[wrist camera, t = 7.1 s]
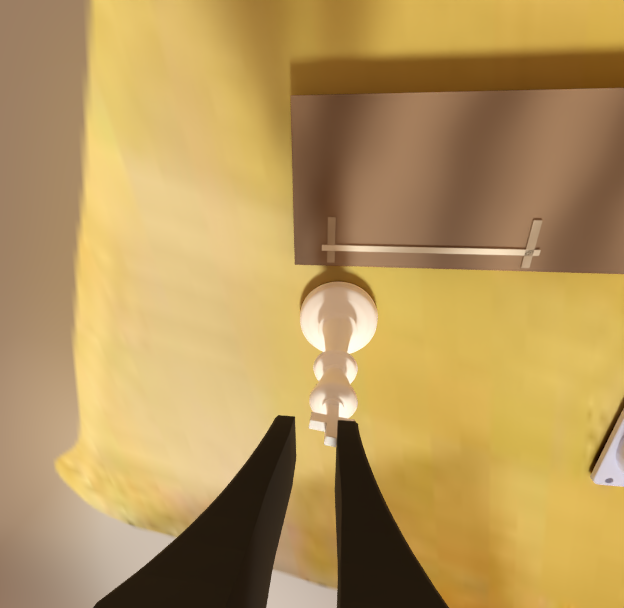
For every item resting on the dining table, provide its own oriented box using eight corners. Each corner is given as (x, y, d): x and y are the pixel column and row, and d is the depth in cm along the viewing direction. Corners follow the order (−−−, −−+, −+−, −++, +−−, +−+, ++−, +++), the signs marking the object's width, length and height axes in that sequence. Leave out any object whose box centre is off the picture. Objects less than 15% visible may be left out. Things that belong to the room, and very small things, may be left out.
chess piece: (305, 274, 20) (269, 374, 11) (385, 288, 20) (418, 401, 11) (295, 342, 22) (258, 474, 13) (368, 356, 22) (382, 498, 13)
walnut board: (697, 92, 14) (736, 84, 13) (626, 265, 18) (651, 275, 16) (295, 101, 16) (290, 95, 15) (298, 257, 19) (294, 264, 18)
